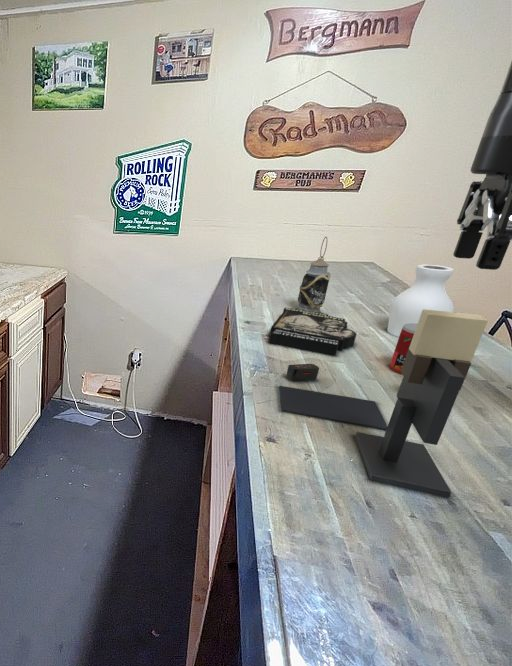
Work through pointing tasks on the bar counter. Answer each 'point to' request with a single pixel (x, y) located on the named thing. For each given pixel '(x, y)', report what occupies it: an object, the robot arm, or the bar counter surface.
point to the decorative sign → (311, 332)
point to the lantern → (314, 285)
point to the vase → (421, 297)
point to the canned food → (402, 347)
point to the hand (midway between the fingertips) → (473, 263)
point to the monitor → (428, 419)
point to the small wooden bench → (443, 342)
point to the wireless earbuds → (302, 372)
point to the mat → (331, 407)
